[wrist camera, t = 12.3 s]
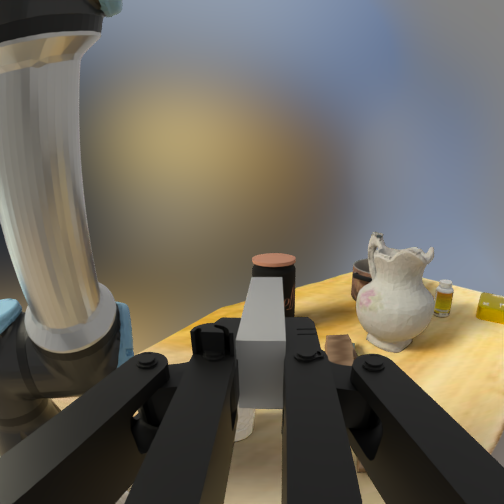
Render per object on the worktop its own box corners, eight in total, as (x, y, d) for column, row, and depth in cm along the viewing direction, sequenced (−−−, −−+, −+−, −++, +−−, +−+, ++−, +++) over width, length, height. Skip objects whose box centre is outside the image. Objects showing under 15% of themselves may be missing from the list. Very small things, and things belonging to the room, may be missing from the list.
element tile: (516, 311, 73) (519, 297, 72) (517, 328, 63) (521, 312, 62) (479, 303, 83) (481, 290, 82) (474, 319, 73) (477, 304, 72)
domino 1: (333, 358, 57) (326, 335, 67) (332, 367, 57) (325, 343, 67) (358, 357, 57) (348, 334, 66) (357, 365, 57) (347, 342, 67)
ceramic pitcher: (331, 336, 75) (331, 238, 69) (379, 311, 84) (383, 226, 78) (397, 371, 57) (411, 257, 50) (441, 336, 66) (454, 239, 59)
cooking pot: (380, 280, 114) (382, 253, 112) (430, 294, 96) (434, 264, 94) (329, 300, 97) (331, 267, 95) (387, 320, 79) (392, 283, 77)
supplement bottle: (451, 318, 76) (457, 284, 73) (434, 317, 77) (440, 284, 75) (446, 310, 81) (451, 278, 79) (430, 310, 82) (435, 278, 80)
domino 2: (329, 385, 51) (326, 339, 58) (327, 389, 52) (324, 345, 60) (356, 384, 50) (351, 339, 58) (353, 388, 52) (349, 344, 59)
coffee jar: (271, 338, 74) (271, 265, 70) (245, 323, 82) (243, 257, 78) (302, 325, 80) (304, 258, 76) (275, 313, 88) (275, 251, 84)
